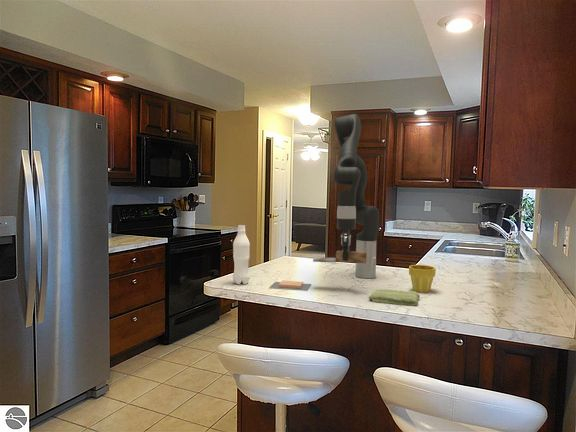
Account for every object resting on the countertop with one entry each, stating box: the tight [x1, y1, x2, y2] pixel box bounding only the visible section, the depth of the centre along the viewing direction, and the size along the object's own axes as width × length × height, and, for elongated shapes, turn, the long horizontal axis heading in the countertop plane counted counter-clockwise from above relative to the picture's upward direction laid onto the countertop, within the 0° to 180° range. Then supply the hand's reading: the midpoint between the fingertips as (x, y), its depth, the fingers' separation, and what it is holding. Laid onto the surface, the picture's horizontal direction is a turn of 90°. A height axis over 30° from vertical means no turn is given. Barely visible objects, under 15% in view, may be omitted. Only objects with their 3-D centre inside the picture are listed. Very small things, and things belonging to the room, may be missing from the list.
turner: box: [312, 250, 367, 264], centre depth 170 cm, size 21×6×4 cm, turn 79°
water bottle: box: [232, 224, 251, 285], centre depth 180 cm, size 7×7×25 cm
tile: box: [279, 280, 304, 289], centre depth 175 cm, size 1×7×9 cm
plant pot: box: [408, 264, 437, 293], centre depth 173 cm, size 10×10×10 cm
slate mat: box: [268, 281, 313, 292], centre depth 175 cm, size 16×12×1 cm
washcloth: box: [368, 289, 421, 307], centre depth 158 cm, size 13×18×3 cm
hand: (345, 259), depth 170 cm, fingers closed on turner, 4 cm apart
